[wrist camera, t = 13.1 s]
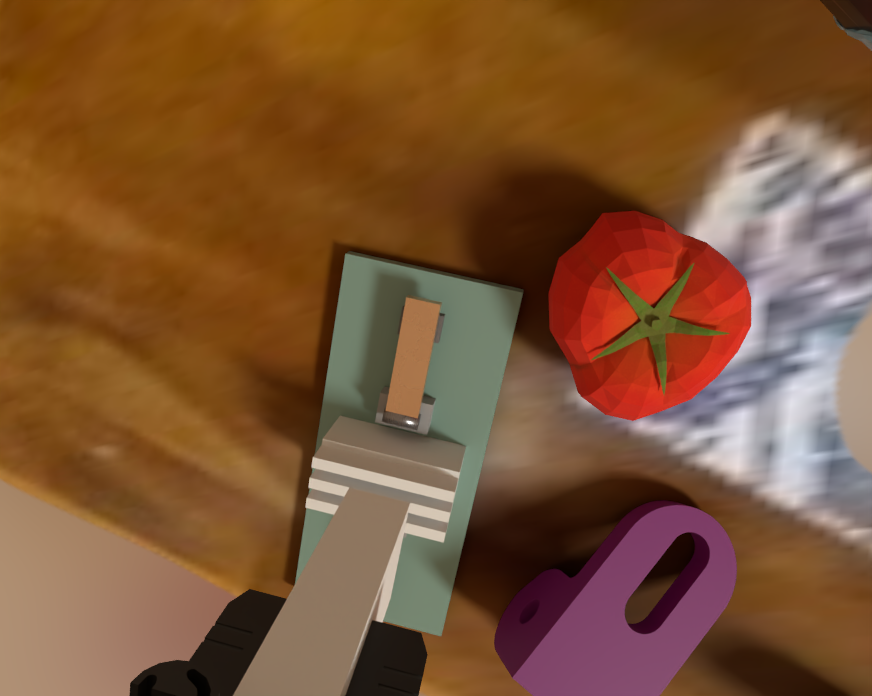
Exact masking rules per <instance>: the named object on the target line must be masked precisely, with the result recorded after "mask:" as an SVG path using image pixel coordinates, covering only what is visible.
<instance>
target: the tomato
mask: <svg viewBox="0 0 872 696" xmlns="http://www.w3.org/2000/svg"><path fill="white" fill-rule="evenodd" d="M549 326H550V331H551V333H552V335H553V336H554V338H555V340H556V341H557V343H558V345H559V347H560V348H561V350H562V352H563V353H564V355H565V357H566V359H567V360H568V362H569V364H570V367H571V370H572V374H573V377H574V380H575V384H576V387H577V390H578V393H579V394H580V395H581V397H583V398H584V399H585V400H587V401H588V402H589V403H591V404H592V405H593V406H595V407H596V408H597V409H599V410H600V411H601V412H603V413H604V414H605V415H610V416H614V417H619V418H623V419H628V420H632V421H634V420H636V419H639V418H642V417H645V416H648V415H651V414H654V413H657V412H660V411H663V410H665V409H668V408H670V407H673V406H675V405H678V404H680V403H683V402H685V401H688V400H690V399H692V398H693V397H694V396H695V395H697V394H698V393H699V392H700V391H701V390H702V389H703V388H705V387H706V386H707V385H708V384H709V383H710V382H712V381H713V380H714V379H715V378H716V377H717V376H718V375H719V374H720V373H721V371H722V370H723V369H724V368H725V366H726V365H727V364H728V363H729V362H730V360H731V359H732V358H733V357H734V355H735V354H736V353H737V352H738V350H739V348H740V346H741V344H742V342H743V340H744V339H745V337H746V335H747V333H748V331H749V329H750V327H751V296H750V293H749V290H748V287H747V281H746V280H745V278H744V277H743V275H742V274H741V273H740V272H739V271H738V270H737V269H736V268H735V267H734V266H733V265H732V264H731V263H730V262H729V261H728V259H727V258H725V257H724V256H723V255H721V254H720V253H719V252H718V251H716V250H715V249H714V248H712V247H711V246H710V245H708V244H707V243H705V242H703V241H700V240H698V239H695V238H693V237H690V236H687V235H684V234H680V233H678V232H677V231H675V230H674V229H673V228H672V227H671V226H669V225H668V224H667V223H666V222H665V221H663V220H662V219H659V218H656V217H653V216H650V215H646V214H643V213H640V212H637V211H625V212H611V213H602V214H601V216H600V217H599V218H598V220H597V221H596V222H595V223H594V225H593V226H592V227H591V229H590V230H589V231H588V232H587V233H586V234H585V236H584V237H583V238H582V239H581V240H580V241H579V242H578V243H576V244H575V245H574V246H573V247H572V248H570V249H569V250H568V251H567V252H566V253H564V254H563V255H562V256H561V257H559V259H558V263H557V266H556V269H555V273H554V276H553V280H552V283H551V287H550V290H549Z"/></svg>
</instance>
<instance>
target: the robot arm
mask: <svg viewBox="0 0 872 696" xmlns="http://www.w3.org/2000/svg"><path fill="white" fill-rule="evenodd" d="M820 1H821V2H822V3H823V4H824V5H825V6H826V7H827V9H828V10H829V11H830V12H831V13H832V14H833V17H834V20H835V22H836V24H837V25H838V26H839V28H840V29H842V30H845V32H846V33H847V35H849V36H851V37H853V38H855V39H857V40H860V41H862V42H863V43H864V44H865V45H866V46H867V47H868V48H869V49H870V50H871V51H872V0H820ZM409 507H410V503H409V502H405V501H401V500H397V499H393V498H389V497H385V496H381V495H377V494H373V493H369V492H365V491H361V490H357V489H353V488H349V489H348V491H347V493H346V494H345V496H344V498H343V500H342V502H341V503H340V505H339V507H338V509H337V511H336V512H335V514H334V516H333V518H332V519H331V521H330V523H329V525H328V527H327V528H326V530H325V532H324V534H323V536H322V537H321V539H320V541H319V543H318V545H317V546H316V548H315V550H314V552H313V553H312V555H311V557H310V559H309V561H308V562H307V564H306V566H305V568H304V570H303V571H302V573H301V575H300V577H299V578H298V580H297V582H296V584H295V586H294V587H293V589H292V591H291V593H290V595H289V596H288V598H287V599H285V598H281V597H278V596H274V595H270V594H266V593H263V592H259V591H255V590H251V589H249V590H248V591H246V592H245V593H243V594H242V595H240V596H239V597H237V598H236V599H234V600H232V601H231V602H229V603H228V605H227V606H226V608H225V609H224V611H223V612H222V614H221V615H220V616H219V618H218V619H217V621H216V623H215V626H213V627H212V628H211V630H210V631H209V633H208V634H207V635H206V637H205V640H204V642H202V643H201V644H200V646H199V647H198V649H197V650H196V652H195V653H194V655H193V656H192V658H191V659H190V661H181V660H175V661H169V662H164V663H159V664H157V665H155V666H153V667H150V668H148V669H146V670H144V671H143V672H142V673H140V674H139V675H138V676H137V677H136V678H135V679H134V680H133V681H132V682H131V683H130V696H418V695H419V690H420V686H421V681H422V677H423V672H424V668H425V663H426V658H427V652H426V648H425V645H424V641H423V638H422V634H421V633H419V632H416V631H412V630H408V629H404V628H401V627H397V626H393V625H389V624H386V623H383V620H384V617H385V613H386V610H387V607H388V604H389V601H390V598H391V594H392V589H393V584H394V579H395V574H396V570H397V565H398V560H399V555H400V550H401V545H402V541H403V536H404V531H405V526H406V521H407V516H408V511H409Z"/></svg>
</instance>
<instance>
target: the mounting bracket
mask: <svg viewBox="0 0 872 696" xmlns="http://www.w3.org/2000/svg"><path fill="white" fill-rule="evenodd" d="M687 532H689V533H690V534H691V535H692V537H693V539H694V543H695V551H694V555H693V557H692V559H691V561H690V562H689V563H688V564H687V566H686V567H685V568H684V570H683V571H682V572H681V574H680V575H679V576H678V577H677V579H676V580H675V581H674V583H673V584H672V585H671V587H670V588H669V589H668V590H667V592H666V593H665V594H664V596H663V597H662V598H661V599H660V601H659V602H658V603H657V605H656V606H655V607H654V609H653V610H652V611H651V612H650V614H649V615H648V616H647V617H646V618H645V619H644V620H643V621H641V622H639V623H636V624H628V623H627V622H626V619H625V614H624V611H625V605H626V603H627V601H628V599H629V597H630V596H631V595H632V594H633V592H634V591H635V590H636V588H637V587H638V586H639V585H640V583H641V582H642V581H643V580H644V578H645V577H646V576H647V574H648V573H649V572H650V571H651V569H652V568H653V567H654V565H655V564H656V563H657V562H658V560H659V559H660V558H661V556H662V555H663V554H664V553H665V551H666V550H667V549H668V547H669V546H670V545H671V544H672V542H673V541H674V540H675V539H676V538H677V537H678V536H679V535H681V534H683V533H687ZM736 573H737V566H736V557H735V552H734V549H733V546H732V543H731V541H730V539H729V537H728V535H727V533H726V532H725V530H724V529H723V528H722V526H721V525H720V524H719V523H718V522H717V521H716V520H715V519H714V518H712V517H711V516H710V515H708V514H707V513H705V512H703V511H701V510H699V509H696V508H694V507H691V506H688V505H685V504H682V503H679V502H675V501H667V500H660V501H653V502H649V503H645V504H643V505H641V506H639V507H637V508H635V509H633V510H632V511H631V512H629V513H628V514H627V515H626V516H625V517H624V518H623V519H622V520H621V521H620V522H619V523H618V524H617V526H616V527H615V528H614V529H613V531H612V532H611V533H610V534H609V536H608V537H607V538H606V539H605V541H604V542H603V543H602V544H601V546H600V547H599V548H598V549H597V551H596V552H595V553H594V554H593V556H592V557H591V558H590V559H589V561H588V562H587V563H586V564H585V566H584V567H583V568H582V569H581V571H580V572H579V573H578V574H577V575H576V576H574V577H572V578H569V577H568V576H567V575H566V574H564V573H563V572H562V571H560V570H558V569H550V570H546V571H544V572H542V573H541V574H539V575H538V576H537V577H536V578H535V579H533V580H532V581H531V582H530V583H529V584H527V585H526V586H525V587H524V588H523V589H521V590H520V591H519V592H518V593H517V594H516V596H515V597H514V598H513V599H512V601H511V602H510V604H509V605H508V607H507V608H506V610H505V612H504V613H503V615H502V617H501V619H500V622H499V624H498V627H497V630H496V634H495V640H494V645H495V650H496V652H497V653H498V655H499V657H500V658H501V660H502V662H503V663H504V665H505V666H506V668H507V670H508V671H509V673H510V675H511V676H512V678H513V679H514V680H516V681H517V682H518V683H519V684H520V685H521V686H523V687H524V688H525V689H526V690H527V691H528V692H529V693H531V694H532V695H533V696H660V694H661V693H662V692H663V690H664V689H665V688H666V686H667V685H668V684H669V682H670V681H671V680H672V678H673V677H674V676H675V674H676V673H677V672H678V670H679V669H680V668H681V666H682V665H683V664H684V662H685V661H686V660H687V658H688V657H689V656H690V654H691V653H692V652H693V650H694V649H695V648H696V646H697V645H698V644H699V642H700V641H701V640H702V639H703V637H704V636H705V635H706V633H707V632H708V631H709V629H710V628H711V627H712V625H713V624H714V623H715V621H716V620H717V619H718V617H719V616H720V615H721V613H722V612H723V610H724V609H725V608H726V606H727V604H728V602H729V600H730V598H731V596H732V593H733V590H734V587H735V582H736Z"/></svg>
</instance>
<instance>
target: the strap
mask: <svg viewBox="0 0 872 696" xmlns="http://www.w3.org/2000/svg"><path fill="white" fill-rule="evenodd" d="M441 306H442V302H438V301H434V300H429V299H425V298H420V297H416V296H412V295H408V296H407V297H406V302H405V307H404V312H403V318H402V323H401V329H400V334H399V340H398V345H397V351H396V356H395V362H394V367H393V373H392V378H391V383H390V389H389V394H388V400H387V405H386V407H385V409H384V413H383V417H382V422H385V423H389V424H393V425H397V426H401V427H406V428H410V429H414V430H417V429H418V426H419V423H420V418H421V414H420V410H421V405H422V400H423V395H424V390H425V385H426V380H427V375H428V370H429V365H430V360H431V355H432V350H433V345H434V340H435V335H436V330H437V325H438V320H439V315H440V311H441Z"/></svg>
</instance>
